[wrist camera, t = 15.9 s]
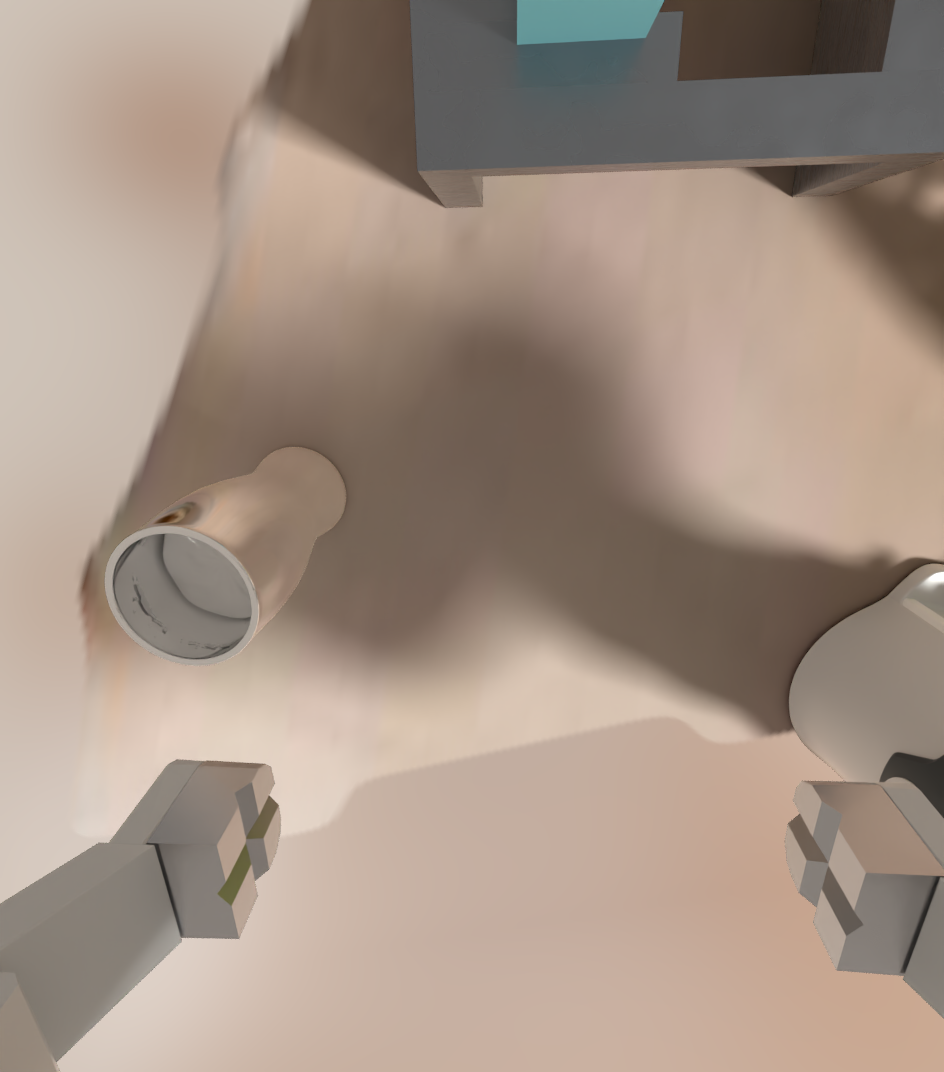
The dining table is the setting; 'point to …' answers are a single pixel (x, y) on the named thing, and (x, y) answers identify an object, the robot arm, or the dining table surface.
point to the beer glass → (223, 558)
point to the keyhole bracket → (672, 101)
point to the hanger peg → (584, 20)
